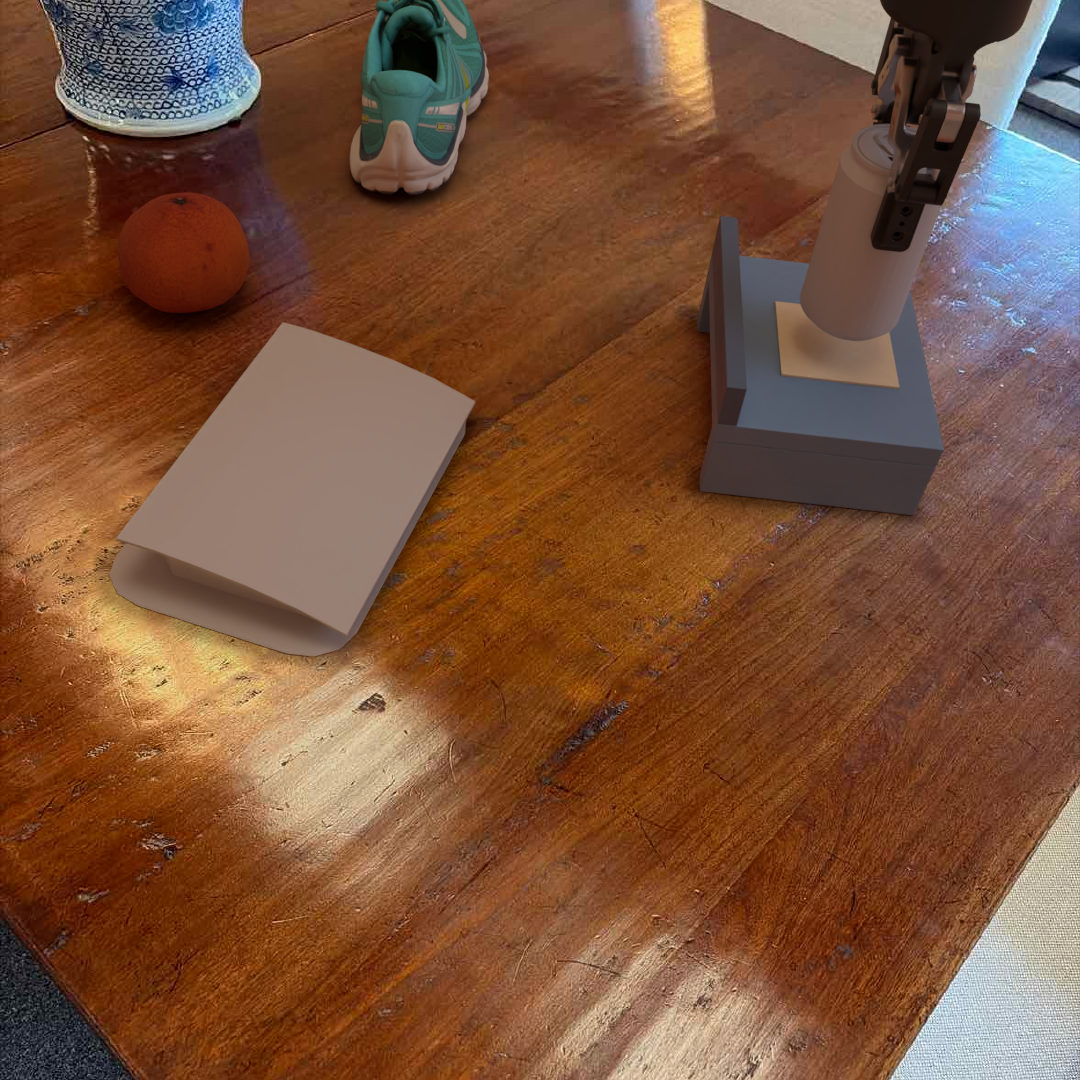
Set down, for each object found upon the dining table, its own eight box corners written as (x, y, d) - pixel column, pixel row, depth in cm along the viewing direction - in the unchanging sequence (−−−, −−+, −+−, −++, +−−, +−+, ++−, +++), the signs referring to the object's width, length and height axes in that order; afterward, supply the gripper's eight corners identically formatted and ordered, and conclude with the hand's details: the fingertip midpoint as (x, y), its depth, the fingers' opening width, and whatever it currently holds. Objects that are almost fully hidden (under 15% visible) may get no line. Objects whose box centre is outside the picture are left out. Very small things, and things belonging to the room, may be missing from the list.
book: (90, 590, 68) (75, 545, 65) (272, 350, 83) (267, 305, 80) (338, 670, 66) (334, 627, 63) (480, 409, 81) (482, 364, 78)
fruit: (229, 248, 90) (216, 153, 84) (269, 317, 85) (258, 220, 79) (111, 274, 87) (89, 176, 81) (145, 347, 82) (124, 249, 76)
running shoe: (490, 46, 115) (496, -79, 106) (482, 215, 96) (489, 81, 87) (373, 37, 114) (370, -89, 106) (343, 206, 95) (336, 70, 87)
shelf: (882, 340, 89) (921, 238, 83) (913, 516, 77) (961, 413, 71) (697, 319, 89) (720, 215, 82) (699, 491, 77) (726, 386, 70)
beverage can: (831, 357, 74) (889, 187, 65) (777, 296, 78) (825, 127, 69) (915, 336, 76) (981, 168, 67) (858, 277, 80) (914, 111, 71)
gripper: (1088, -8, 54) (962, 293, 66) (1027, -126, 63) (926, 156, 76) (924, -27, 54) (828, 278, 66) (887, -142, 63) (809, 143, 76)
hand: (881, 212), depth 71 cm, fingers closed on beverage can, 6 cm apart
